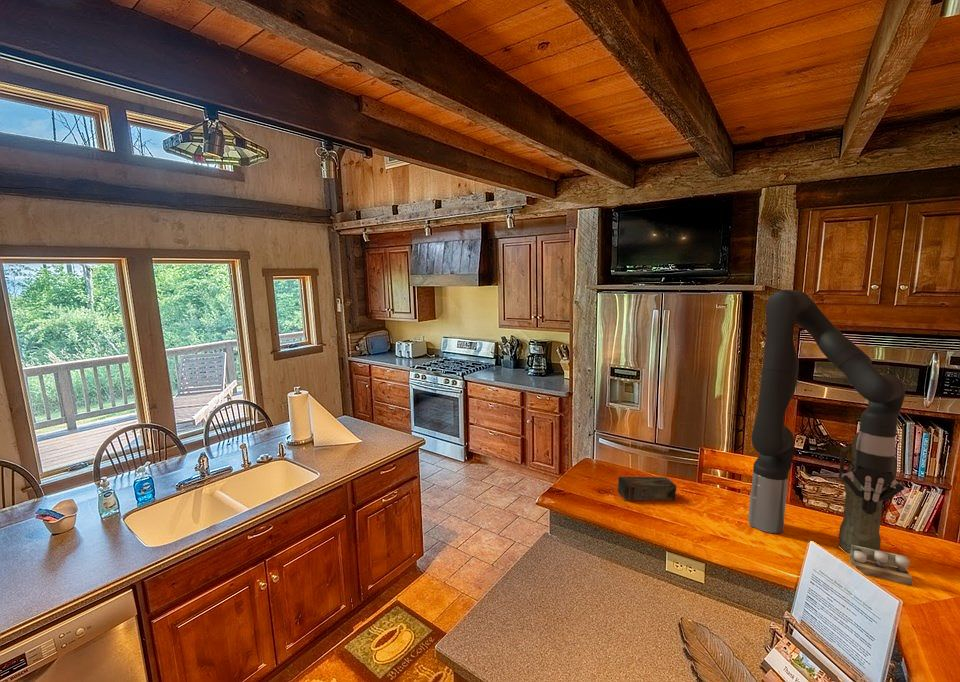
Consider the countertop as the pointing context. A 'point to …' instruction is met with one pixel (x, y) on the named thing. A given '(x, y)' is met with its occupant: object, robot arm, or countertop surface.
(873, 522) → the thermos
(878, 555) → the button middle
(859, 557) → the button left
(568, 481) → the countertop surface
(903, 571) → the button right
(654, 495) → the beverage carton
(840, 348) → the robot arm
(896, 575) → the button board
